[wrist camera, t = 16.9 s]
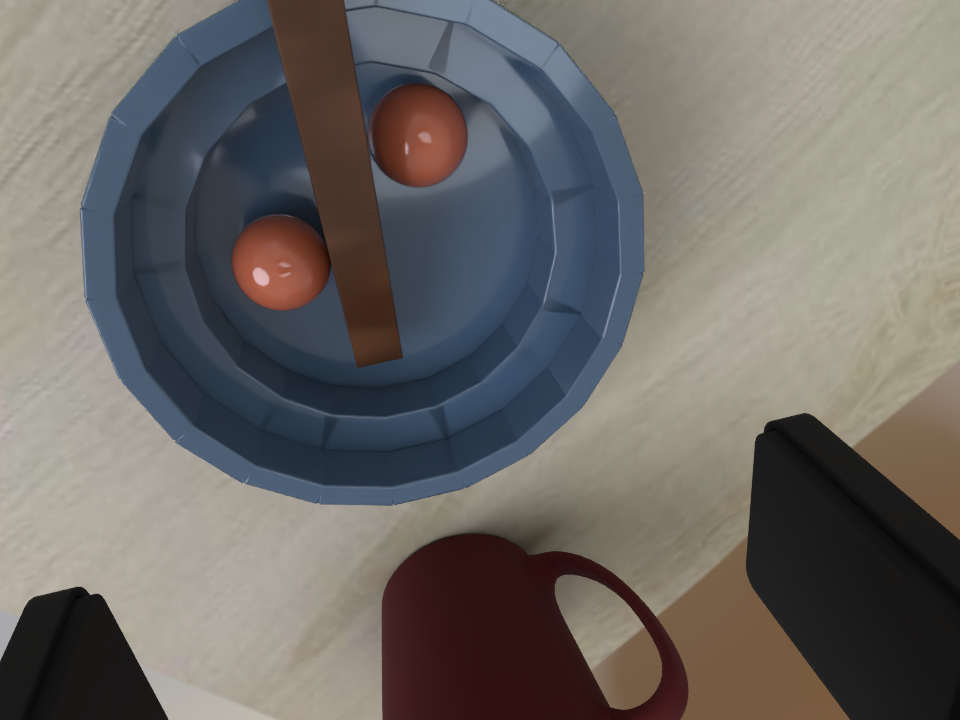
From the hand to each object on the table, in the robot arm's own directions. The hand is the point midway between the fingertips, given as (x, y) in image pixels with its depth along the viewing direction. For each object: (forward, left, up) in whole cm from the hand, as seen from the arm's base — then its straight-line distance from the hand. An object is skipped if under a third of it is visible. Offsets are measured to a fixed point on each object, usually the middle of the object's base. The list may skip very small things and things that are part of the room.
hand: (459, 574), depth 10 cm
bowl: (0, 0, -17) cm, 17 cm away
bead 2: (+2, +3, -14) cm, 15 cm away
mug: (+2, -17, -17) cm, 24 cm away
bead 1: (-3, 0, -14) cm, 15 cm away
